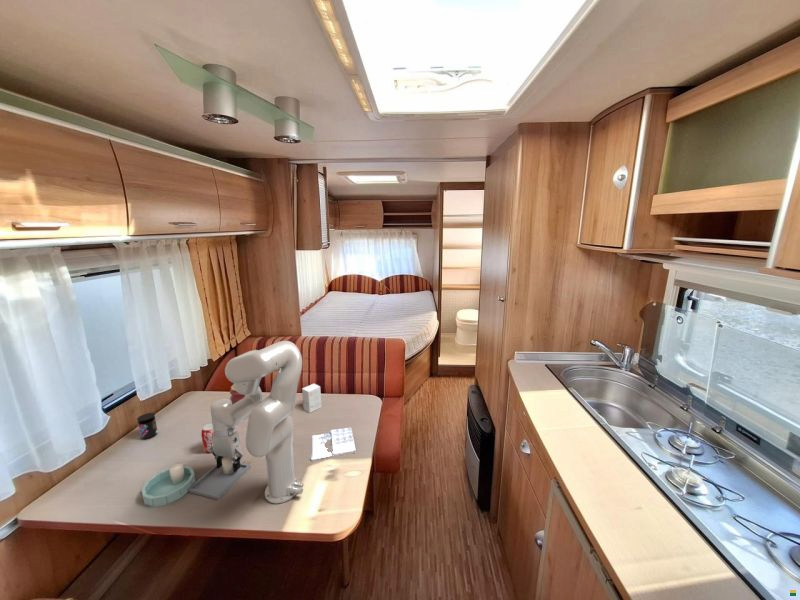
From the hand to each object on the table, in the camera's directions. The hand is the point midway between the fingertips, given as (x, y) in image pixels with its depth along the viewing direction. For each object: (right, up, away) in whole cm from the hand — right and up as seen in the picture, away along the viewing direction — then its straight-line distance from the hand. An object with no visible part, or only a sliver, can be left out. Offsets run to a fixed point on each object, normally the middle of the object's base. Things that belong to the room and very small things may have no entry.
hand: (228, 467), depth 129 cm
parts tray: (-1, -3, -4) cm, 5 cm away
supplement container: (-52, +3, +23) cm, 57 cm away
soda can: (-15, +1, +14) cm, 20 cm away
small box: (+21, +8, +48) cm, 53 cm away
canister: (-17, +8, +48) cm, 51 cm away
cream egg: (-17, -2, -6) cm, 18 cm away
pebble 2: (0, -2, 0) cm, 2 cm away
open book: (+39, +1, +18) cm, 43 cm away
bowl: (-18, -4, -9) cm, 20 cm away
